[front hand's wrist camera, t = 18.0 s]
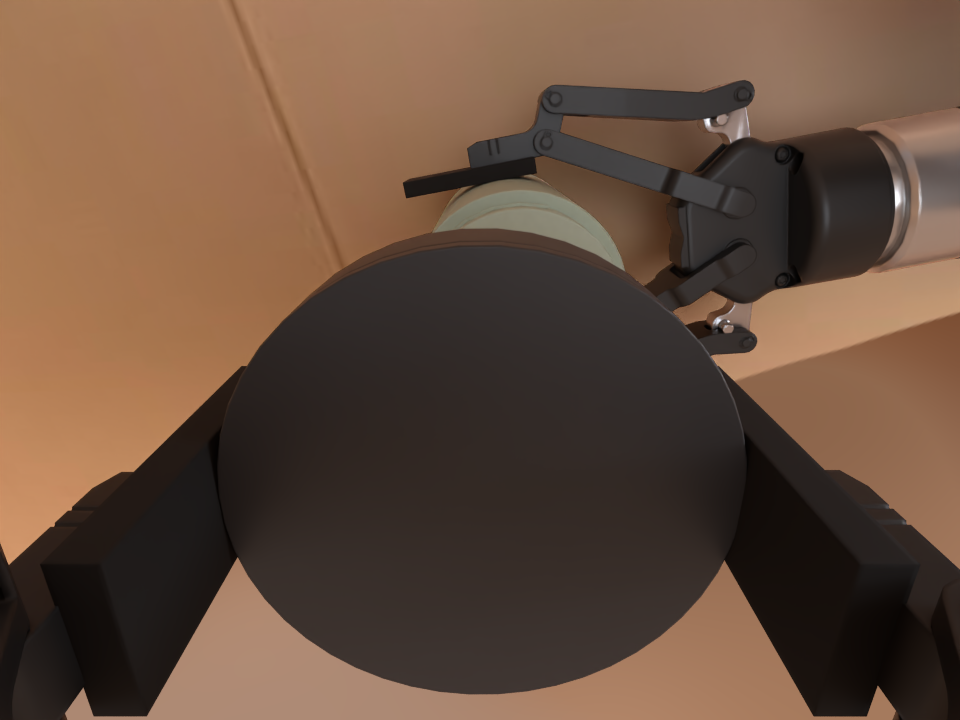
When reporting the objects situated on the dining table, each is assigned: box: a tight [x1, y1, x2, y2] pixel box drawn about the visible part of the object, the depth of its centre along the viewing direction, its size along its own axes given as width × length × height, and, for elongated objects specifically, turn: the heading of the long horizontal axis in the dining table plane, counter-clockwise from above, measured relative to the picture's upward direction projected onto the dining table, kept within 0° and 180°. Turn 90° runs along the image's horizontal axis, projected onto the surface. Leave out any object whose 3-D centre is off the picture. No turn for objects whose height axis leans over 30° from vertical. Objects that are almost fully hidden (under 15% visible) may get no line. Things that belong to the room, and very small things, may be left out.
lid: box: [217, 228, 747, 694], centre depth 11 cm, size 10×10×2 cm
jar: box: [432, 174, 625, 271], centre depth 30 cm, size 9×9×16 cm
